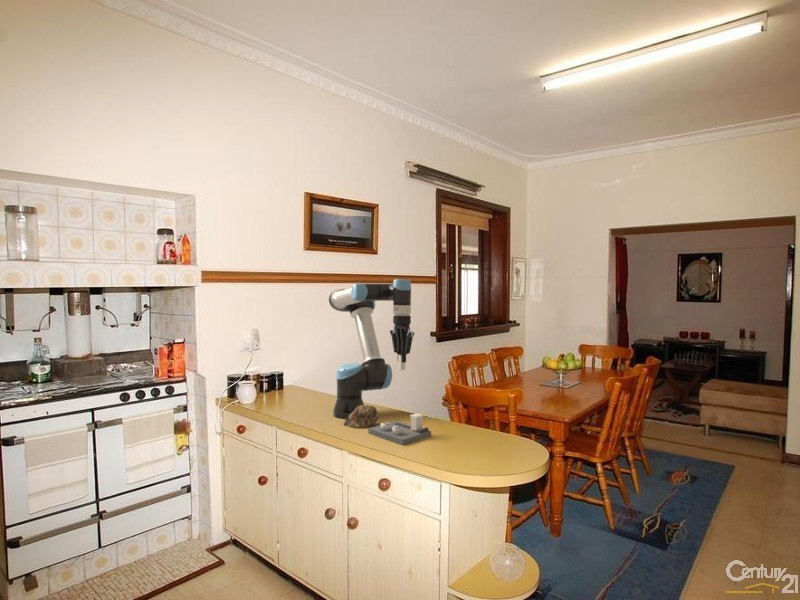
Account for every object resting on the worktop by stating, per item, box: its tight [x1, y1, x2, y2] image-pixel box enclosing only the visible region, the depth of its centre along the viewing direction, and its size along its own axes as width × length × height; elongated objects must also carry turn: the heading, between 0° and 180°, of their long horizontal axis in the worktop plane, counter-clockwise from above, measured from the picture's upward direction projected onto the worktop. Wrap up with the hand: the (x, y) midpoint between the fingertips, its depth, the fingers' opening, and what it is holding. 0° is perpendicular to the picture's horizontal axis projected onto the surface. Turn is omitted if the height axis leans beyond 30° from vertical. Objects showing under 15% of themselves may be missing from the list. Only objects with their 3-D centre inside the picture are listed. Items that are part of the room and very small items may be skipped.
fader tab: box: [409, 412, 424, 431], centre depth 193 cm, size 3×4×6 cm
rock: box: [343, 404, 380, 429], centre depth 207 cm, size 14×9×10 cm
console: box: [367, 420, 432, 446], centre depth 193 cm, size 20×16×5 cm
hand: (401, 369), depth 204 cm, fingers closed
